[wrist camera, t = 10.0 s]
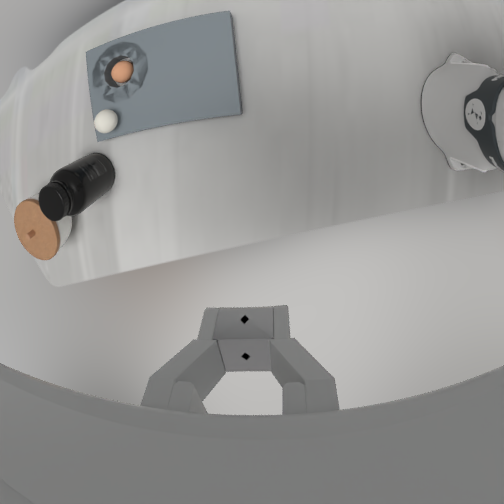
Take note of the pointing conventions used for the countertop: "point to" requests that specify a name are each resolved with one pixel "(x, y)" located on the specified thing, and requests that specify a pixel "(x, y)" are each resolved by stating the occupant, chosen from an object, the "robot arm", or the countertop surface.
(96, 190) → the supplement bottle
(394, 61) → the countertop surface
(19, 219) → the lidded jar
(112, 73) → the terracotta ball
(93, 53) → the plate
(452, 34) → the countertop surface
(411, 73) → the countertop surface
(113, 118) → the cream ball
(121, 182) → the countertop surface
